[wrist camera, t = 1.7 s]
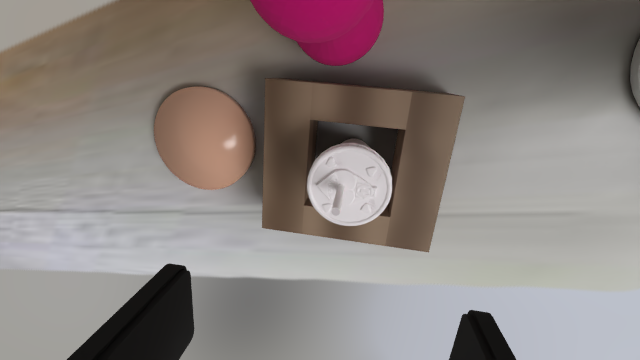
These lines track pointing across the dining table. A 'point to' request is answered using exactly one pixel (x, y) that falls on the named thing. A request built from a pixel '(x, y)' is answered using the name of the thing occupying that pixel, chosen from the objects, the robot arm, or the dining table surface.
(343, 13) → the pepper mill
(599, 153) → the dining table surface
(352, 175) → the smoothie
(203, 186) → the tan round disc
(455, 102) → the bottle holder
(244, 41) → the dining table surface
